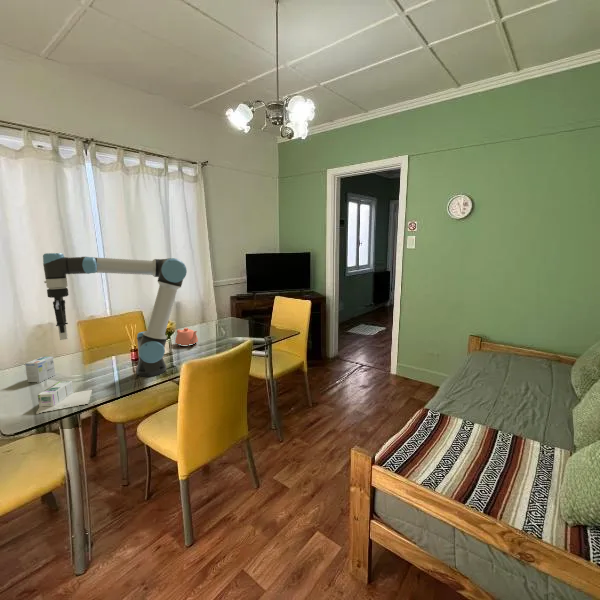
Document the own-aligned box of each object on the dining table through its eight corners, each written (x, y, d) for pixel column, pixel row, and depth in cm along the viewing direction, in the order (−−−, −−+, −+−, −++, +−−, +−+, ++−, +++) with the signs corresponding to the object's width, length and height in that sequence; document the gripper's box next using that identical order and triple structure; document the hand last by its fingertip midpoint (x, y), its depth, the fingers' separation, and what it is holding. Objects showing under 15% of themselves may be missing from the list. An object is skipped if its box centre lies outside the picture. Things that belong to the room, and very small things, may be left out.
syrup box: (72, 380, 151) (51, 393, 137) (73, 392, 152) (53, 406, 138) (59, 381, 151) (37, 394, 136) (61, 393, 152) (38, 407, 137)
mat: (92, 390, 155) (91, 389, 155) (88, 404, 141) (88, 403, 141) (45, 398, 147) (45, 397, 146) (36, 414, 133) (36, 413, 132)
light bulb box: (44, 375, 175) (41, 356, 173) (56, 375, 175) (53, 356, 173) (27, 383, 165) (24, 363, 163) (39, 383, 164) (37, 363, 163)
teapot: (206, 344, 231) (205, 328, 229) (188, 350, 219) (187, 332, 217) (186, 340, 243) (185, 324, 241) (169, 345, 231) (167, 328, 229)
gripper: (49, 287, 147) (56, 337, 151) (43, 290, 136) (50, 343, 140) (69, 286, 151) (75, 334, 154) (65, 288, 140) (71, 341, 143)
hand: (63, 339), depth 147 cm, fingers closed
